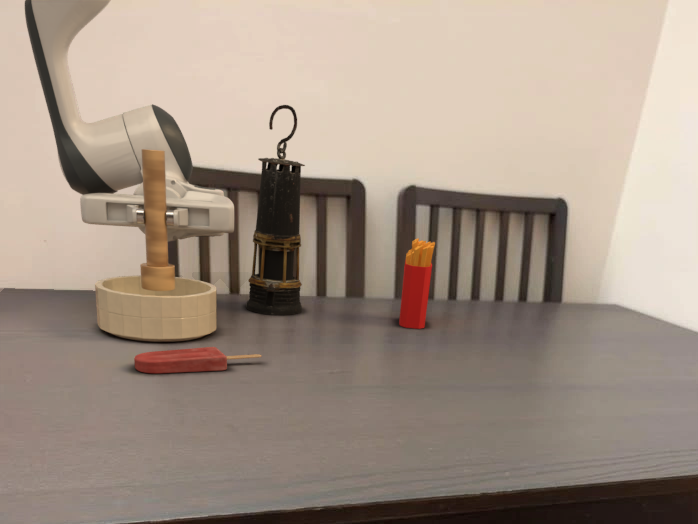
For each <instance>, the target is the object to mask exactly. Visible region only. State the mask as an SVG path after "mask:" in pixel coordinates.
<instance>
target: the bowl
mask: <svg viewBox="0 0 698 524" xmlns="http://www.w3.org/2000/svg"><path fill="white" fill-rule="evenodd" d="M94 289H95V291H94V292H95V305H96V320H97V326H98V327H99V330H102V331H105V332H106V333H109V334H110V335H113V336H115V337H118V338H122V339H126V340H132V341H140V342H153V343H156V342H157V343H170V342H171V343H174V342H184V341H192V340H197V339H200V338H203V337H206V336H207V335H209V334H211V333H214V332H215V331H216V330H217V326H218V325H217V322H218V320H217V319H218V317H217V315H218V314H217V311H218V308H217V307H218V306H217V303H218V301H217V300H218V299H217V297H218V289H217V286H215V285H214V284H212V283H210V282H206V281H203V280H200V279H199V280H198V279H193V278H188V277H180V276H175V289H174V290H170V291H152V290H146V289H143V288H142V287H141V274H140V275H139V274H137V275H121V276H120V275H119V276H112V277H107V278H102V279H100V280H97V281H96V282H95V283H94Z"/></svg>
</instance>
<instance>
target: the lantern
mask: <svg viewBox="0 0 698 524" xmlns="http://www.w3.org/2000/svg"><path fill="white" fill-rule="evenodd" d="M284 109H285V110H289V111H290V113H292V116H293V128H292V129H291V132H290V133H289V134H288V135H287V137H283V138H282V139H281V140H280V141H278V143H277V144H276V156H277V158H276V157H275V158H274V157H270V158H269V157H263V158H262V157H260V158H259V157H258V158H257V160H258V161H260V162H261V174H260V183H259V185H260V187H259V196H258V206H257V215H256V222H255V230H254V231H253V232H254V233H253V235H252V243H253V258H252V269H251V275H250V277H249V279H248V280H247V282H248V283H249V285H248V286H249V293H248V294H249V298H248V300H247V301H246V306H245V307H246V309H247V310H249V311H250V312H254V313H258V314H261V315H262V314H263V315H273V316H290V315H296V314H297V315H298V314H300V313H301V312H302V311H303V310H302V309H303V308H302V303H301V287H302V285H303V284H302V282H301V280H300V248H301V247H302V240H301V239H302V238H301V234H300V227H301V226H300V224H301V223H300V221H301V220H300V219H301V178H302V177H301V176H302V175H301V174H302V167H306V165H305V164H303V163H301V162H299V161H294V160H290V159H286V158H287V152H286V150H287V147H288V144H287V142H289V141H290V140H291V139H292V138H293V137H294V135H295V133H296V131H297V127H298V116H297V112H296V109H295V108H293V107H292V106H291V105H288V104H280V105H279V106H277V107H275V108H274V110H273V111H272V112H271V114H270V117H269V122H268V124H269V126H268V127H269V131H270V130H271V131H272V130H273V123H274V118H275V115H276V114H277V113H278V111H280V110H284ZM282 144H283V145H282ZM281 146H282V147H281ZM258 248H259V249H258ZM295 250H296V270H295V271H296V273H295V276H294V266H295V265H294V263H295ZM257 255H258V273H256V265H257Z"/></svg>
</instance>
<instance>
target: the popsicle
mask: <svg viewBox="0 0 698 524" xmlns="http://www.w3.org/2000/svg"><path fill="white" fill-rule="evenodd" d="M262 357H263V356H262V354H257V353H256V354H255V353H254V354H240V355H238V354H237V355H225V353H223V352H222V351H221V350H220V349H219V348H218V347H216V346H207V347H206V346H205V347H192V348H182V349H168V350H156V351H148V352H146V351H145V352H141V353H138V354H136V355H135V356H134V358H133V360H134V361H133V362H134V369H135V370H136V371H138V372H141V373H145V374H175V373H178V374H179V373H196V372H220V371H227V369H228V361H229V360H243V359H257V358H258V359H259V358H262Z"/></svg>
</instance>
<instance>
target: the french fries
mask: <svg viewBox="0 0 698 524" xmlns="http://www.w3.org/2000/svg"><path fill="white" fill-rule="evenodd" d="M435 245H436V242H435V241H432V242H431V241H428V242H427V240H423V239H421V240H420V238H418V237H417V238H415V239H414V240H412V241H411V249H409V250H408V251H407V252H406V254H405V255H406V256H405V260H404V267H403V268H404V269H403V277H402V287H401V290H402V291H401V299H400V308H399V310H400V311H399V321H398V325H399V326H400V327H403V328H407V329H415V330H416V329H418V330H420V329H425V327H426V319H427V310H428V303H429V294H430V287H431V280H432V279H431V278H432V269H433V263H432V259H433V254H434V249H435V247H436V246H435Z"/></svg>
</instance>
